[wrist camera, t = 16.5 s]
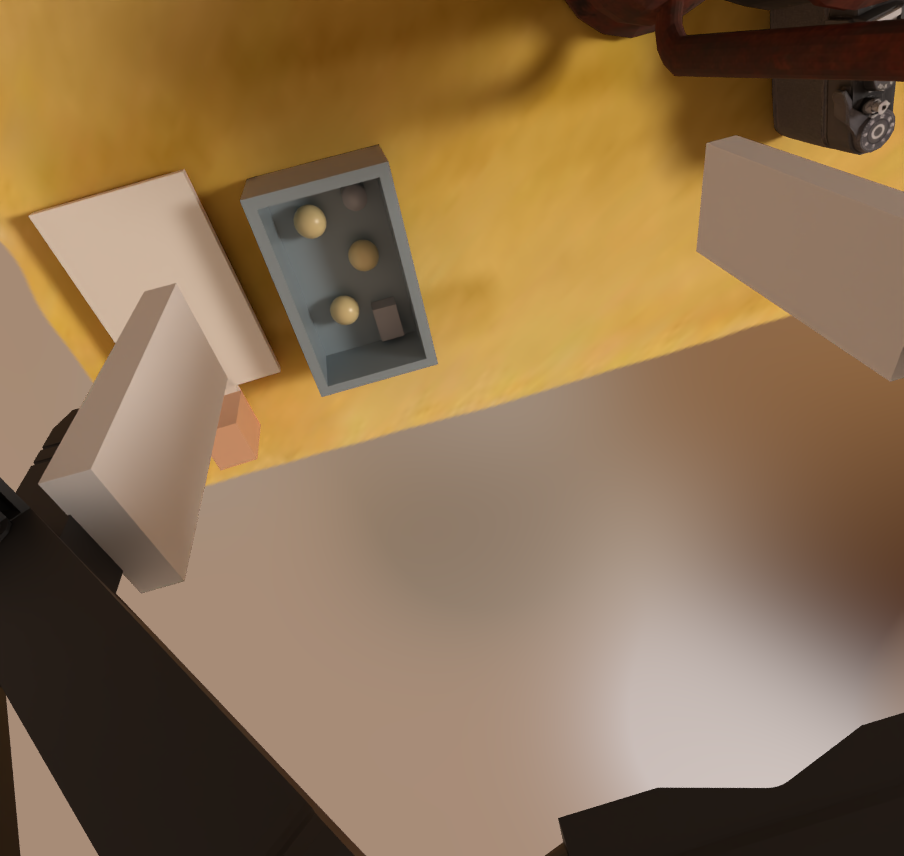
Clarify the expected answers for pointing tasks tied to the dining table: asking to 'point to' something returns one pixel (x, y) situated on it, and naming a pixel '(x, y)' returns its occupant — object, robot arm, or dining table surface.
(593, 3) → the lantern
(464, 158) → the dining table surface
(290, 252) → the tub
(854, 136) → the camera
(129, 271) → the lid
